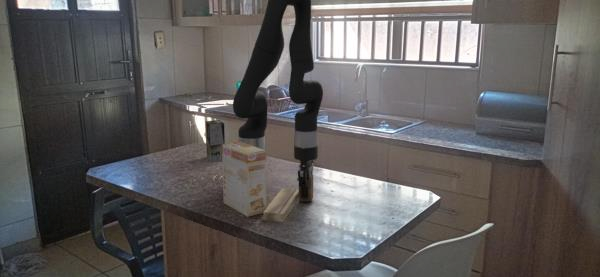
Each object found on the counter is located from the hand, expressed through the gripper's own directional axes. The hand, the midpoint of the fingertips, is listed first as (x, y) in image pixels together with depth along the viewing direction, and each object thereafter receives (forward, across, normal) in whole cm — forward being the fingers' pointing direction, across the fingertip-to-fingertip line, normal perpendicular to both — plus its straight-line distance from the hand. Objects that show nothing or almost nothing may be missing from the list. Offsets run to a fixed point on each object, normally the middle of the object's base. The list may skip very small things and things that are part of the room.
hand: (305, 195), depth 155 cm
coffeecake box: (+2, +10, -18) cm, 20 cm away
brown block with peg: (+1, 0, 0) cm, 1 cm away
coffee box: (+2, -42, -48) cm, 63 cm away
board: (+2, +8, -6) cm, 10 cm away
